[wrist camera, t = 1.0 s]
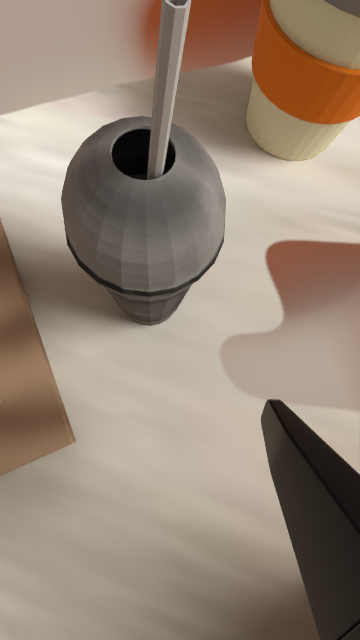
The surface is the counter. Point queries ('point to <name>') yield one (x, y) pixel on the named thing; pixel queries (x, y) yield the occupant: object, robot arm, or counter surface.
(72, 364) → the counter surface
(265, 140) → the reusable coffee cup
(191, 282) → the beverage cup
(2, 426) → the base board
